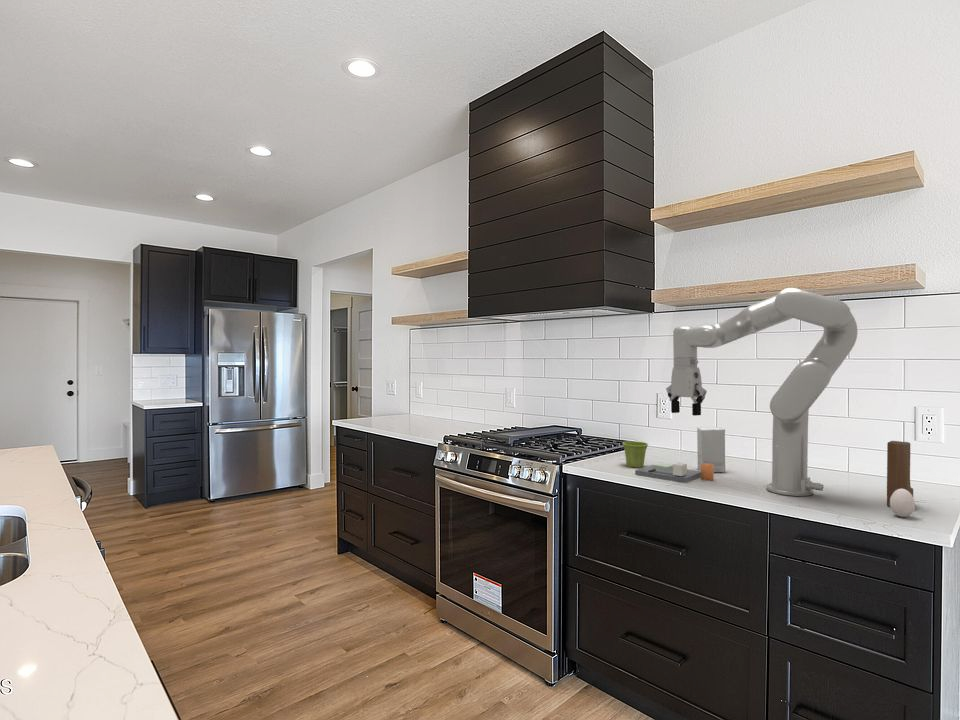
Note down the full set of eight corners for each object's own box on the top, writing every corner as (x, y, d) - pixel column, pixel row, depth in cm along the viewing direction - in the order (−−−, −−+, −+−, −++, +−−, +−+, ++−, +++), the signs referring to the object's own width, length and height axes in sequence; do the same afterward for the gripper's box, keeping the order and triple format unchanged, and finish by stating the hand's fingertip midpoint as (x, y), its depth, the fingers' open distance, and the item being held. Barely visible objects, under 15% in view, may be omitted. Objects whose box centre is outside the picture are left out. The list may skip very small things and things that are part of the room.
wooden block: (894, 500, 162) (894, 438, 162) (913, 504, 159) (914, 440, 158) (886, 506, 156) (887, 442, 156) (906, 510, 153) (907, 444, 152)
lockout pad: (675, 467, 202) (675, 464, 202) (667, 469, 197) (667, 467, 197) (659, 465, 206) (659, 462, 206) (651, 467, 202) (651, 464, 202)
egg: (891, 518, 146) (891, 489, 145) (888, 512, 150) (888, 485, 150) (916, 521, 143) (916, 492, 143) (913, 515, 148) (913, 487, 147)
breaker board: (702, 475, 195) (702, 469, 194) (685, 482, 184) (685, 476, 184) (653, 468, 207) (653, 462, 207) (635, 474, 197) (635, 468, 197)
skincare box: (720, 469, 205) (720, 426, 205) (726, 473, 199) (726, 429, 198) (696, 469, 206) (696, 426, 206) (701, 472, 200) (701, 429, 199)
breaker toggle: (686, 474, 189) (686, 463, 189) (681, 476, 186) (681, 465, 186) (678, 472, 191) (678, 462, 191) (672, 474, 188) (673, 464, 188)
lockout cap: (715, 479, 190) (715, 464, 190) (710, 481, 187) (711, 466, 187) (703, 477, 193) (703, 462, 193) (699, 479, 190) (699, 464, 190)
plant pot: (653, 467, 208) (653, 444, 208) (632, 469, 205) (632, 446, 205) (637, 463, 217) (637, 440, 217) (617, 465, 214) (617, 442, 213)
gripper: (713, 363, 183) (714, 415, 183) (675, 362, 199) (675, 411, 199) (696, 363, 180) (696, 417, 180) (658, 363, 196) (659, 412, 196)
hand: (685, 413), depth 190 cm, fingers open, 9 cm apart
